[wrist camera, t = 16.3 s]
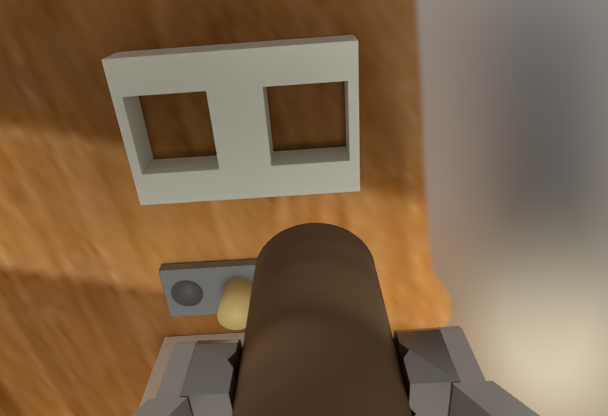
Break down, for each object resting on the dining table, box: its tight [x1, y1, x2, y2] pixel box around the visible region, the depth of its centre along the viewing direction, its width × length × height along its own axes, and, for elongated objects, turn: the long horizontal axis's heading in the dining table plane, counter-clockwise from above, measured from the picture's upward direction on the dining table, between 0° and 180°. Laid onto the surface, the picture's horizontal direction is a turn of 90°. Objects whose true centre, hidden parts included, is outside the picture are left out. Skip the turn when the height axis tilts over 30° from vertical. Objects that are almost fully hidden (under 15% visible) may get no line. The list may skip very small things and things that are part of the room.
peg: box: [232, 223, 412, 416], centre depth 10 cm, size 4×4×8 cm
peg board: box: [101, 35, 360, 205], centre depth 28 cm, size 14×9×2 cm, turn 94°
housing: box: [138, 332, 245, 409], centre depth 36 cm, size 9×6×7 cm, turn 94°
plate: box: [159, 259, 257, 330], centre depth 33 cm, size 7×4×4 cm, turn 94°
